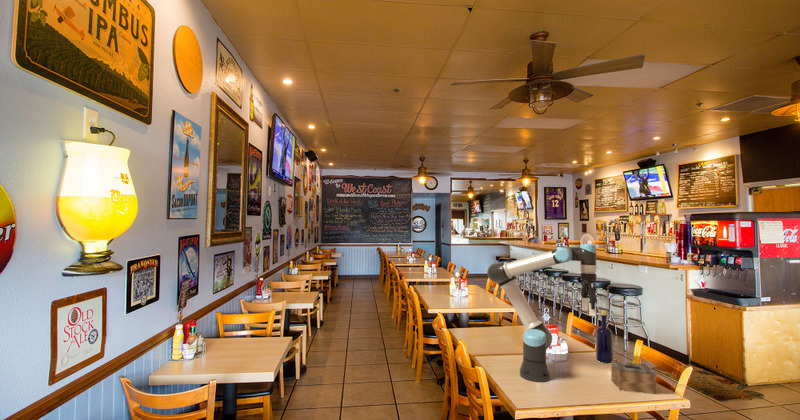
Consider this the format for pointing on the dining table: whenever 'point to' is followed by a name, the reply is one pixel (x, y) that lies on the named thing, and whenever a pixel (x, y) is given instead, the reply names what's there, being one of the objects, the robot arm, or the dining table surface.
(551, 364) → the dining table surface
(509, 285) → the robot arm
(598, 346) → the bottle
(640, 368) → the coin box
